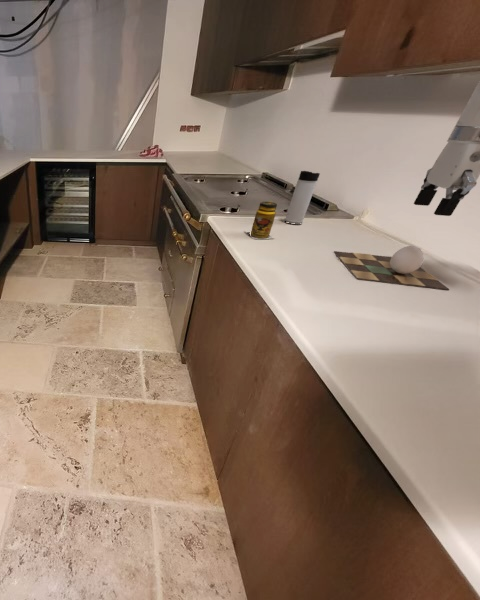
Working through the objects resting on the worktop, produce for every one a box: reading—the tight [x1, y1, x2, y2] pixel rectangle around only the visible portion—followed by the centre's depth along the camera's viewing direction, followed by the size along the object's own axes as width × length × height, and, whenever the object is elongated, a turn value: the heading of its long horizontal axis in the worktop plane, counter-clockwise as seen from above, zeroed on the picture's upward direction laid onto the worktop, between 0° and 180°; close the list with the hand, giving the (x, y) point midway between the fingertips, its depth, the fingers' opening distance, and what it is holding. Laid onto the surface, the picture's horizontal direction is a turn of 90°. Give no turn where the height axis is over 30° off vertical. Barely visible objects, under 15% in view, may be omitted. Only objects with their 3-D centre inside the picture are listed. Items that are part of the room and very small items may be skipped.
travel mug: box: [284, 170, 321, 225], centre depth 125 cm, size 6×7×20 cm
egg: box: [390, 245, 425, 274], centre depth 88 cm, size 6×6×8 cm
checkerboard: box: [333, 250, 450, 291], centre depth 93 cm, size 20×20×1 cm
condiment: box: [245, 201, 278, 240], centre depth 115 cm, size 7×8×12 cm
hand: (430, 209), depth 83 cm, fingers open, 9 cm apart
